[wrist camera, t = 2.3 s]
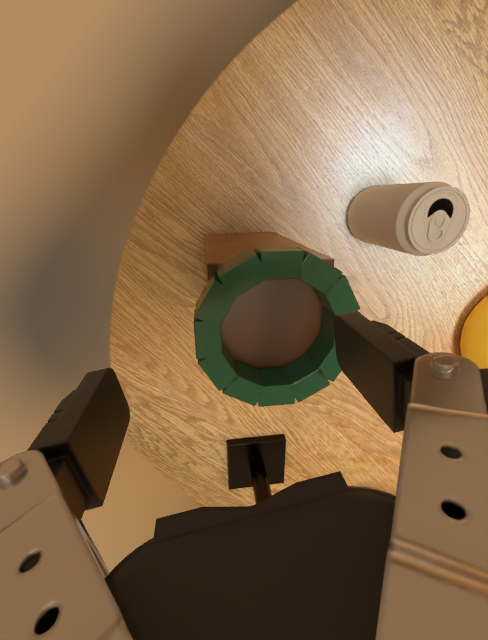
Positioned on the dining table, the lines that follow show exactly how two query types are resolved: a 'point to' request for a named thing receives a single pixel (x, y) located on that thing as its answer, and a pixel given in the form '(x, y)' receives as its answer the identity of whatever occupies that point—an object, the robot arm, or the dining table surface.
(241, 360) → the brown rectangular block
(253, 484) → the post
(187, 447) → the dining table surface
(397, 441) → the dining table surface
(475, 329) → the teapot
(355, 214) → the beverage can
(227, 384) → the ring
